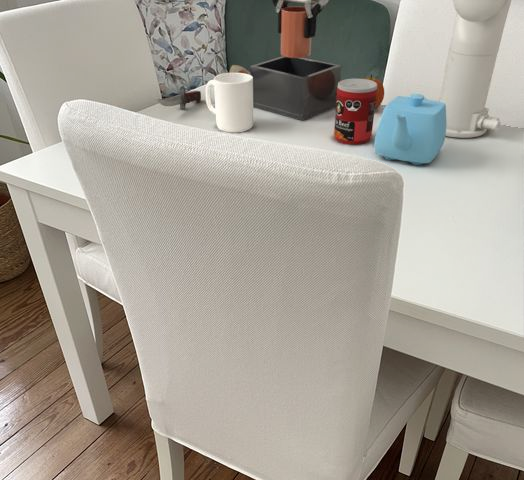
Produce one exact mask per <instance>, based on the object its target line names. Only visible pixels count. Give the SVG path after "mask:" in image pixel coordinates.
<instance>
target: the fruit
mask: <svg viewBox="0 0 524 480" xmlns="http://www.w3.org/2000/svg"><path fill="white" fill-rule="evenodd" d="M364 79H367V80H371V81H374V82H376V83H377V96H376V104H375V110H377V109H378V108H379V107H380V106H381V105H382V103H383V101H384V98H385V86H384V85H383V83H382V81H380V80H379V79H378V78H374V77H373V73H371V74H370V77H365V78H364Z"/></svg>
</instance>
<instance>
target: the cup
mask: <svg viewBox="0 0 524 480" xmlns="http://www.w3.org/2000/svg"><path fill="white" fill-rule="evenodd" d="M212 87H213V89H214V91H213V92H214V105H213V103H212V99H211V89H212ZM205 102H206V106H207V108H208V110H209V111H210V112H211V114H213V115H215V120H216V121H215V122H216V123H215V124H216V127H217V128H218V129H219V130H220V131H222V132H225V133H244V132H247V131H249V130H251V129H252V128H253V126H254V119H255V118H254V107H253V77H252V76H251V75H249V74H245V73H229V72H224V73H220V74H217V75H215V76H214V77H213V79H211V80H209V81H207V83H206V85H205ZM214 106H215V107H214Z"/></svg>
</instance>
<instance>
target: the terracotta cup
mask: <svg viewBox="0 0 524 480" xmlns="http://www.w3.org/2000/svg"><path fill="white" fill-rule="evenodd" d="M306 17H308V16H307V13H306V9H305V6H300V5H299V6H297V5H296V6H288V7H285V8H282V9H281V33H280V56H281V57H282V56H284V57H288V58H307V57H310V56H311V51H312V37H311V38H305V37H304V29H305V18H306Z"/></svg>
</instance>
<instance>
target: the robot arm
mask: <svg viewBox="0 0 524 480" xmlns="http://www.w3.org/2000/svg"><path fill="white" fill-rule="evenodd" d="M329 1H330V0H271V2H272V4H273V6H274V8H275V12H276V13H277V32H278V34H281V9H282V8H285V7H290V6H289V5H290V3H291V2H292V3H299V4H303V5H304V6H303V7H305V9H306V13H307V16H308V17H306V18H305V29H304V37H305V38H311V39H312V38H314V37H315V36H316V32H317V17H319V16H320V13H321V12H322V11H323V10H324V8H325V6H326V5H327V4H328V2H329ZM452 3H453V7H454V9H455V12H456V16H455V19H454V22H453V23H454V24H453V29H452V32H451V38H450V44H449V48H448V53H447V58H446V64H445V69H444V70H445V71H444V75H443V80H442V86H441V91H440V96H439V100H438V101H439V102H443V103H445V105H446V136H445V137H450V138H459V139H462V138H463V139H467V138H469V139H470V138H471V139H472V138H476V137H481V136H483V135H485V134H486V133H487V131H488V130H492V131H494V132H495V131H496V132H497V131H498V130H499V128H500V126H501V121H500V118H499V117H495V116H490V115H489V111H490V108H487V107H486V103H487V100H488V95H489V91H490V88H491V83H492V78H493V75H494V70H495V65H496V61H497V57H498V53H499V50H500V46H501V42H502V37H503V33H504V30H505V25H506V22H507V18H508V14H509V11H510V7H511V4H512V0H452Z"/></svg>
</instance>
